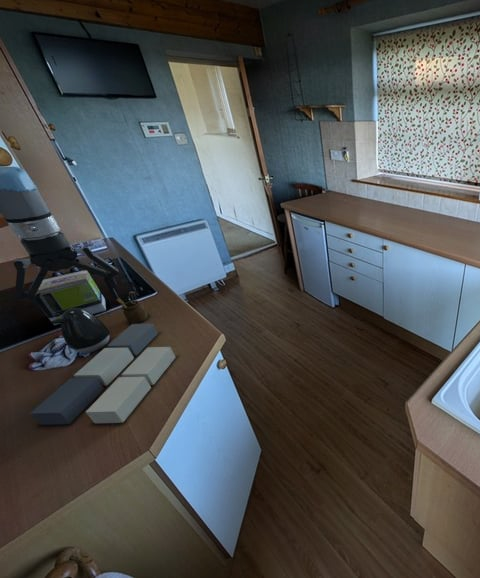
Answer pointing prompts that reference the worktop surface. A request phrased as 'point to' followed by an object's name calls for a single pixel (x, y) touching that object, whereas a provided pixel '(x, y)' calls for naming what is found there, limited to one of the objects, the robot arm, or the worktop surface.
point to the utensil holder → (133, 311)
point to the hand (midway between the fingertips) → (86, 306)
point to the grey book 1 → (67, 401)
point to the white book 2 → (119, 400)
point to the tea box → (72, 294)
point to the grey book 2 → (135, 338)
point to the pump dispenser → (83, 330)
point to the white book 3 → (151, 364)
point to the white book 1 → (106, 365)
